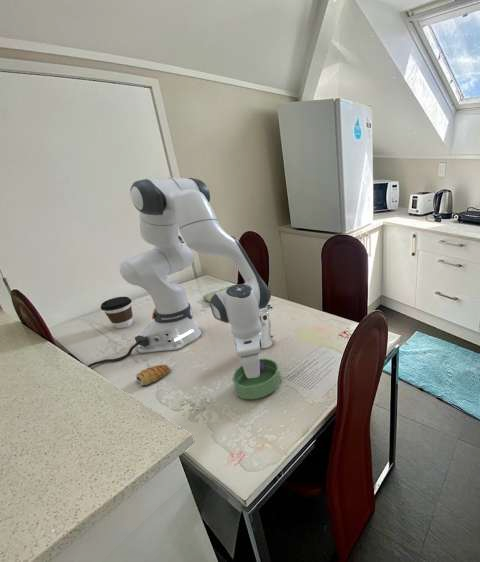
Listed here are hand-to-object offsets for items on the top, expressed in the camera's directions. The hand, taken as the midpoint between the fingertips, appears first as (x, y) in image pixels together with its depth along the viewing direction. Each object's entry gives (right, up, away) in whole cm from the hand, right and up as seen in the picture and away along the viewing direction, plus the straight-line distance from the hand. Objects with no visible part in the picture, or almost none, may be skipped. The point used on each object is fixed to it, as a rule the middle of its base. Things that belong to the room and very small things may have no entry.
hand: (255, 370), depth 102 cm
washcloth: (-41, +21, +64) cm, 79 cm away
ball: (0, -2, +1) cm, 2 cm away
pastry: (-39, -5, +6) cm, 40 cm away
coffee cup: (-75, +9, +39) cm, 85 cm away
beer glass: (-5, +4, +24) cm, 25 cm away
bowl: (0, -6, +2) cm, 6 cm away
